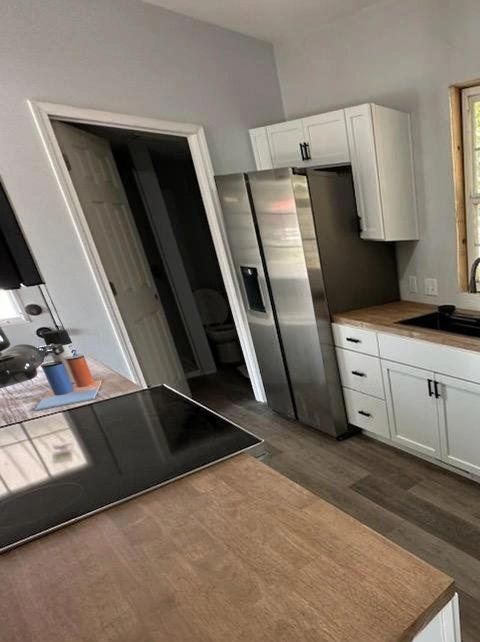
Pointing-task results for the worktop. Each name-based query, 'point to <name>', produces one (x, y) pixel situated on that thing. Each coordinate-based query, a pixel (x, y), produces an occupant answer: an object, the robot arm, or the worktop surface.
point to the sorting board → (69, 396)
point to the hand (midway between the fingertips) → (34, 349)
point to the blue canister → (57, 377)
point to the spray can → (67, 344)
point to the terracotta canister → (79, 370)
